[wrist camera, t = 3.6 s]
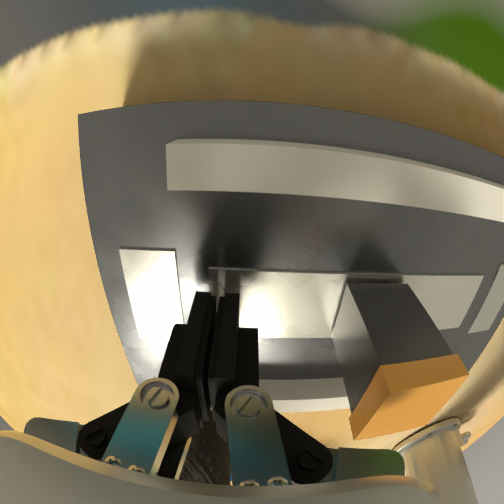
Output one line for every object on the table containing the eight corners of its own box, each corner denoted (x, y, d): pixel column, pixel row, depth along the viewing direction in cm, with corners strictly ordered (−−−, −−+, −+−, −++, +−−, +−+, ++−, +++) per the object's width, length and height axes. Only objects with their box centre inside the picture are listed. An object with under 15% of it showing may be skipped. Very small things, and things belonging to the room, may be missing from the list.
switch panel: (513, 164, 12) (568, 191, 7) (445, 344, 20) (470, 390, 15) (121, 109, 12) (56, 117, 7) (155, 349, 19) (136, 409, 14)
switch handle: (410, 281, 11) (469, 374, 6) (388, 334, 13) (425, 424, 8) (344, 281, 11) (390, 392, 6) (329, 337, 12) (353, 440, 8)
